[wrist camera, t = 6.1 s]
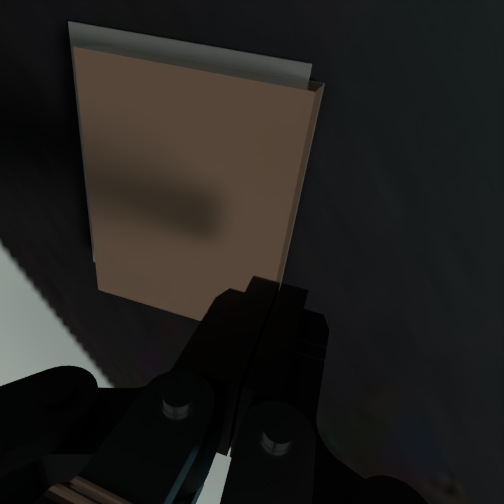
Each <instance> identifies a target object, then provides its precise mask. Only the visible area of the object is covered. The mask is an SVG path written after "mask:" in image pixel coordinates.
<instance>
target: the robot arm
mask: <svg viewBox="0 0 504 504" xmlns="http://www.w3.org/2000/svg"><path fill="white" fill-rule="evenodd" d="M279 287H280V289H279ZM307 294H308V290H306V289H302V288H298V287H295V286H291V285H288V284H284V283H282V284H281V286H280V282H276V281H273V280H269V279H266V278H262V277H258V276H255V275H254V276H253V277H252V279H251V281H250V283H249V285H248V287H247V289H246V291H245V292H242V291H239V290H235V289H232V288H229V289H228V290H226V291H224V292H223V293H221V294H220V295H218V296H217V297H215V299H214V301H213V302H212V304H211V306H210V307H209V309H208V311H207V313H206V314H205V315H204V317H203V319H202V320H201V323H200V324H199V325H198V327H197V329H196V330H195V332H194V334H193V335H192V337H191V339H190V340H189V342H188V343H187V345H186V347H185V348H184V350H183V352H182V353H181V355H180V357H179V358H178V360H177V362H176V363H175V365H174V366H173V368H172V369H171V371H169V372H166V373H163V374H161V375H159V376H157V377H155V378H154V379H153V380H151V381H150V382H149V383H148V384H147V386H144V387H139V388H98V385H97V382H96V379H95V378H94V376H93V375H92V374H91V373H90V372H89V371H87V370H85V369H83V368H81V367H76V366H59V367H54V368H51V369H47V370H44V371H42V372H39V373H36V374H33V375H30V376H28V377H25V378H22V379H19V380H16V381H14V382H11V383H8V384H5V385H2V386H0V504H196V502H197V500H198V497H199V495H200V493H201V491H202V489H203V486H204V482H205V479H206V478H207V475H208V473H209V470H210V468H211V465H212V462H213V459H214V457H215V454H216V452H217V453H220V454H222V455H225V456H227V454H228V451H229V448H230V445H231V442H232V440H233V442H232V447H231V452H230V457H231V462H230V466H229V470H228V474H227V478H226V482H225V485H224V489H223V493H222V497H221V502H220V504H428V503H427V502H426V501H425V499H424V498H423V497H422V496H421V495H420V494H419V493H418V492H417V491H416V490H414V489H413V488H412V487H411V486H409V485H407V484H406V483H404V482H403V481H400V480H398V479H396V478H393V477H389V476H382V475H380V476H373V477H369V478H367V479H364V478H363V477H361V476H360V475H359V474H357V473H356V472H354V471H353V470H352V469H350V468H349V467H347V466H346V465H345V464H343V463H342V462H341V461H339V460H338V459H337V458H336V457H335V456H334V455H333V454H332V453H331V452H330V451H329V450H328V449H327V447H326V446H325V444H324V443H323V441H322V439H321V437H320V435H319V432H318V429H317V424H316V413H317V407H318V400H319V394H320V387H321V381H322V374H323V368H324V360H325V355H326V347H327V342H328V336H329V328H328V325H327V323H326V320H325V318H324V315H323V314H320V313H316V312H313V311H309V310H306V309H304V305H305V301H306V297H307Z"/></svg>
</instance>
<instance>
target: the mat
mask: <svg viewBox="0 0 504 504" xmlns="http://www.w3.org/2000/svg"><path fill="white" fill-rule="evenodd" d="M68 26H69V36H70V45H71V55H72V64H73V73H74V83H75V92H76V101H77V111H78V120H79V130H80V139H81V148H82V158H83V167H84V177H85V186H86V195H87V205H88V214H89V224H90V233H91V242H92V252H93V261H94V262H95V252H94V243H93V233H92V223H91V214H90V204H89V194H88V185H87V175H86V166H85V156H84V146H83V137H82V127H81V117H80V108H79V98H78V89H77V79H76V69H75V60H74V50H73V47H77V46H102V45H118V46H124V47H129V48H135V49H140V50H146V51H151V52H157V53H162V54H168V55H173V56H179V57H184V58H190V59H195V60H201V61H206V62H212V63H217V64H223V65H228V66H234V67H239V68H245V69H250V70H256V71H261V72H266V73H272V74H277V75H283V76H288V77H294V78H299V79H305V80H309V78H310V72H311V67H312V63H306V62H301V61H295V60H289V59H283V58H278V57H272V56H266V55H261V54H255V53H249V52H244V51H238V50H232V49H226V48H221V47H215V46H209V45H204V44H198V43H192V42H187V41H181V40H175V39H169V38H164V37H158V36H152V35H147V34H141V33H135V32H130V31H124V30H118V29H112V28H107V27H101V26H95V25H90V24H84V23H78V22H71V21H68Z"/></svg>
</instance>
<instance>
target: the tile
mask: <svg viewBox="0 0 504 504" xmlns="http://www.w3.org/2000/svg"><path fill="white" fill-rule="evenodd" d="M73 50H74V60H75V69H76V79H77V89H78V98H79V108H80V117H81V127H82V137H83V146H84V156H85V166H86V175H87V185H88V194H89V204H90V214H91V223H92V233H93V243H94V252H95V262H96V271H97V281H98V290H101V291H104V292H107V293H111V294H114V295H117V296H121V297H124V298H127V299H130V300H134V301H137V302H140V303H144V304H147V305H150V306H153V307H157V308H160V309H163V310H167V311H170V312H173V313H176V314H180V315H183V316H186V317H190V318H193V319H196V320H199V321H201V320H202V319H203V317H204V315H205V314H206V313H207V311H208V309H209V307H210V306H211V304H212V302H213V301H214V299H215V297H217V296H218V295H220V294H221V293H223V292H224V291H226V290H228V289H229V288H232V289H235V290H239V291H242V292H245V291H246V289H247V287H248V285H249V283H250V281H251V279H252V277H253V276H254V275H255V276H258V277H262V278H266V279H269V280H273V281H276V282H280V286H281V282H282V277H283V273H284V268H285V263H286V259H287V254H288V250H289V245H290V240H291V236H292V231H293V227H294V222H295V217H296V213H297V208H298V204H299V199H300V194H301V190H302V185H303V181H304V176H305V171H306V167H307V162H308V157H309V153H310V148H311V144H312V139H313V134H314V130H315V125H316V121H317V116H318V111H319V107H320V102H321V98H322V93H323V88H324V84H325V83H321V82H316V81H310V80H305V79H299V78H294V77H288V76H283V75H277V74H272V73H266V72H261V71H256V70H250V69H245V68H239V67H234V66H228V65H223V64H217V63H212V62H206V61H201V60H195V59H190V58H184V57H179V56H173V55H168V54H162V53H157V52H151V51H146V50H140V49H135V48H129V47H124V46H118V45H102V46H77V47H73ZM279 289H280V287H279Z"/></svg>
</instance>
